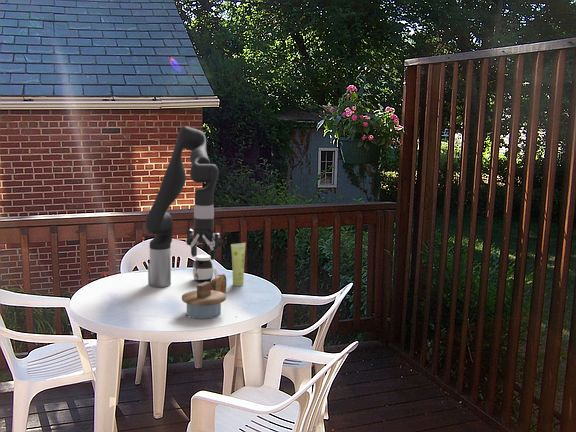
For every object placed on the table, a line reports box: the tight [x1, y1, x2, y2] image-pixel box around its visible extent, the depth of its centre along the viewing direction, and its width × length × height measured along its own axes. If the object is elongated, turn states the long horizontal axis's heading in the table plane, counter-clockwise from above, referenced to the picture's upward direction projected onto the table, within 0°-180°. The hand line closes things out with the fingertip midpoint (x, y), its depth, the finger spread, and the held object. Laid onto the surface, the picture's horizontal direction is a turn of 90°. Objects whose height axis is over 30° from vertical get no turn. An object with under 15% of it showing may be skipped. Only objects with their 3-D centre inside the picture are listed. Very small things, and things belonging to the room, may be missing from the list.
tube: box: [230, 242, 247, 287], centre depth 268 cm, size 6×5×20 cm
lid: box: [181, 281, 227, 306], centre depth 228 cm, size 17×17×6 cm
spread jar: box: [192, 254, 219, 283], centre depth 275 cm, size 12×11×12 cm
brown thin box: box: [210, 274, 227, 294], centre depth 253 cm, size 15×3×8 cm, turn 168°
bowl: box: [186, 303, 222, 320], centre depth 229 cm, size 13×13×6 cm
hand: (203, 257), depth 226 cm, fingers open, 8 cm apart
